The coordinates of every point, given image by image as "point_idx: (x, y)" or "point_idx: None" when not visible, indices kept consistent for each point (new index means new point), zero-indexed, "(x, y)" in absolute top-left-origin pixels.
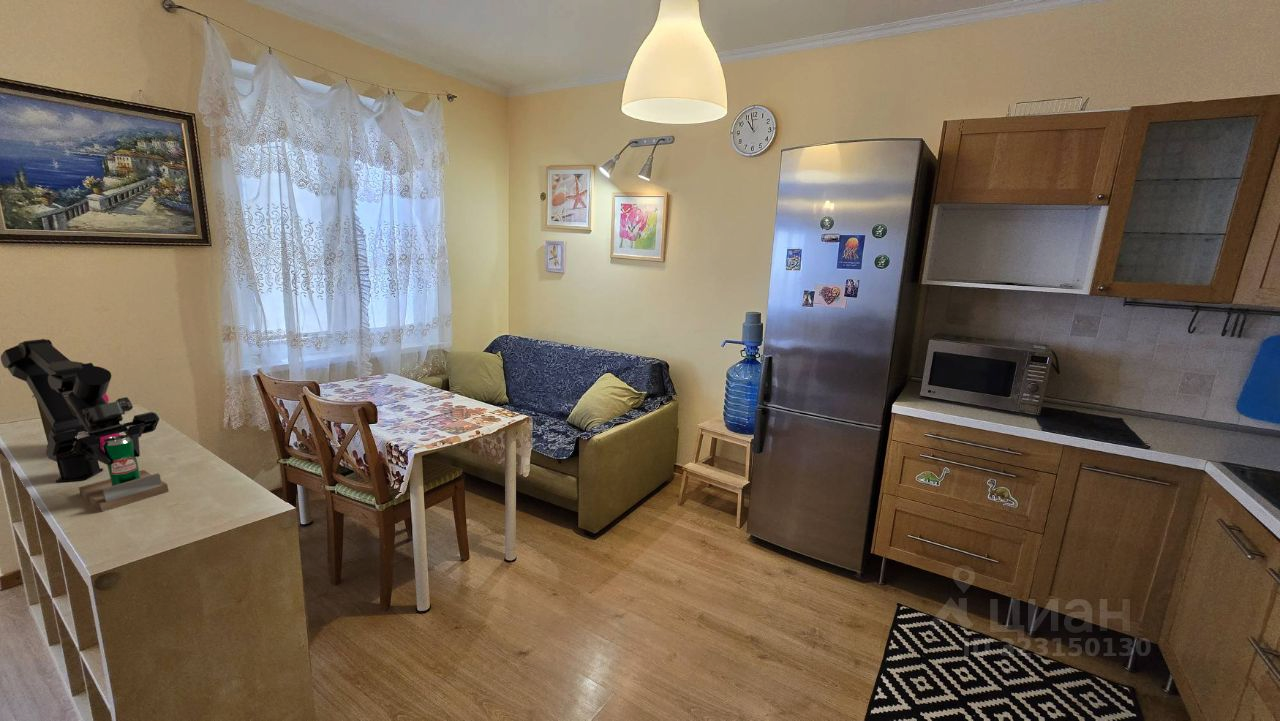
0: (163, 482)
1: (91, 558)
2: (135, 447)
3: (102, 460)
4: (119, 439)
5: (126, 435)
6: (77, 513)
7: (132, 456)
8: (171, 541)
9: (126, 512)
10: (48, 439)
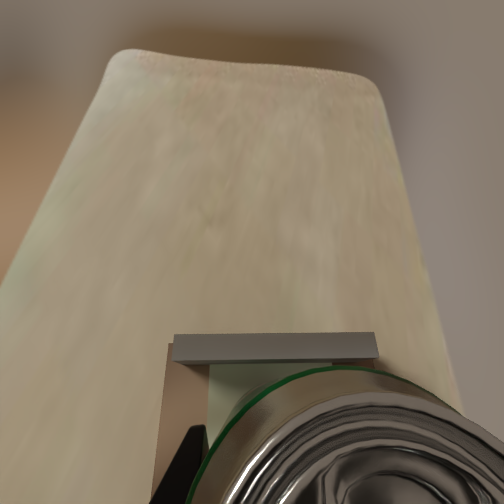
0: (167, 376)
1: (380, 116)
2: (183, 501)
3: None
4: (379, 440)
5: None
6: None
7: (246, 396)
8: (278, 81)
9: (306, 276)
10: None
